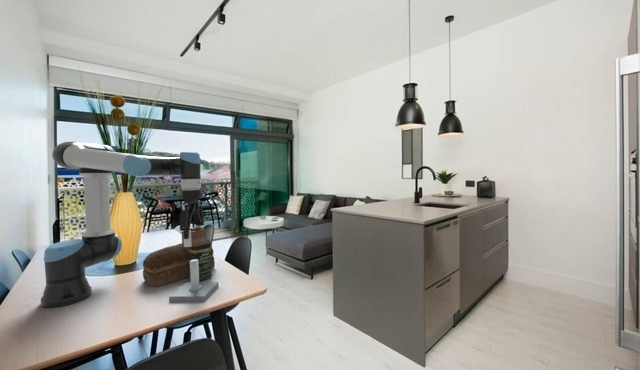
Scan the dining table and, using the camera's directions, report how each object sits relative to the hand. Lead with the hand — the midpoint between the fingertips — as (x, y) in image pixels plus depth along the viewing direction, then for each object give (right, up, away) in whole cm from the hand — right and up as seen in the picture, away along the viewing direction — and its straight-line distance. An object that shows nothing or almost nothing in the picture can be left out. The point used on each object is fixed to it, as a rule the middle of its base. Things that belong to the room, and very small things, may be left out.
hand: (193, 243), depth 111 cm
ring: (0, 0, 0) cm, 0 cm away
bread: (-17, -21, +23) cm, 35 cm away
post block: (0, -21, +1) cm, 21 cm away
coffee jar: (-4, -21, +17) cm, 27 cm away
